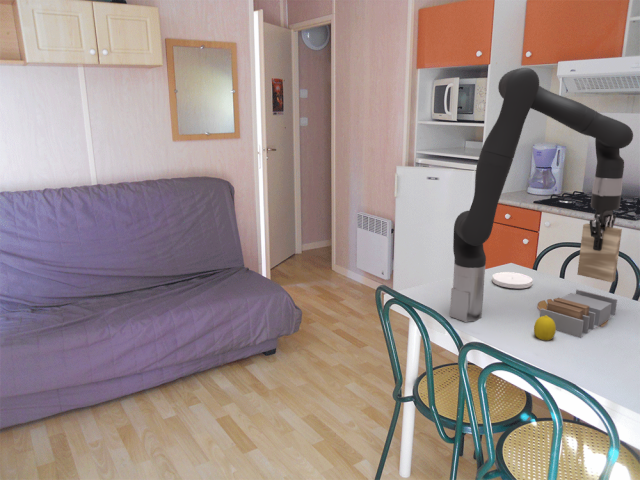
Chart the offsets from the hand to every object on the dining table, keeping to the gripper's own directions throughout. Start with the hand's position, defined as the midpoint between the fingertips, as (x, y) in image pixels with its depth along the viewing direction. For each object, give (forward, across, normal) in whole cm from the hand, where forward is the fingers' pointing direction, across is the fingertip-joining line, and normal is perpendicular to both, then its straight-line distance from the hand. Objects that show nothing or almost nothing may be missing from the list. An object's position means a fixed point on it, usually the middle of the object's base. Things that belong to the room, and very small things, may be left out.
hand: (599, 249), depth 155 cm
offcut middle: (+20, +15, 0) cm, 25 cm away
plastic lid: (+22, -10, -32) cm, 40 cm away
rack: (+22, +10, 0) cm, 24 cm away
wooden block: (+9, 0, 0) cm, 9 cm away
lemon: (+22, +28, -1) cm, 36 cm away
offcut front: (+20, +19, 0) cm, 28 cm away
